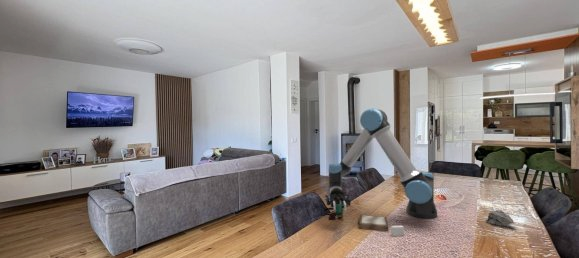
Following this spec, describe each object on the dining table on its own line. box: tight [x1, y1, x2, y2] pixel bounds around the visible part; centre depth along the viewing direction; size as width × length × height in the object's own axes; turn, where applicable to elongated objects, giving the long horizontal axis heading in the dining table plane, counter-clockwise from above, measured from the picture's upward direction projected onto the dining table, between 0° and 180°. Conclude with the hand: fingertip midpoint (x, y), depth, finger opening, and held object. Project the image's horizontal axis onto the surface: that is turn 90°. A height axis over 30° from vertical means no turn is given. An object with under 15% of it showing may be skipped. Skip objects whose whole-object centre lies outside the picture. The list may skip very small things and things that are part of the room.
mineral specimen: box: [485, 209, 515, 227], centre depth 123 cm, size 10×8×10 cm
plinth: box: [359, 214, 389, 232], centre depth 124 cm, size 13×12×3 cm
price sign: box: [390, 225, 405, 237], centre depth 113 cm, size 5×2×4 cm, turn 93°
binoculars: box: [323, 196, 344, 222], centre depth 124 cm, size 9×11×10 cm
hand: (340, 207), depth 119 cm, fingers closed on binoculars, 4 cm apart
